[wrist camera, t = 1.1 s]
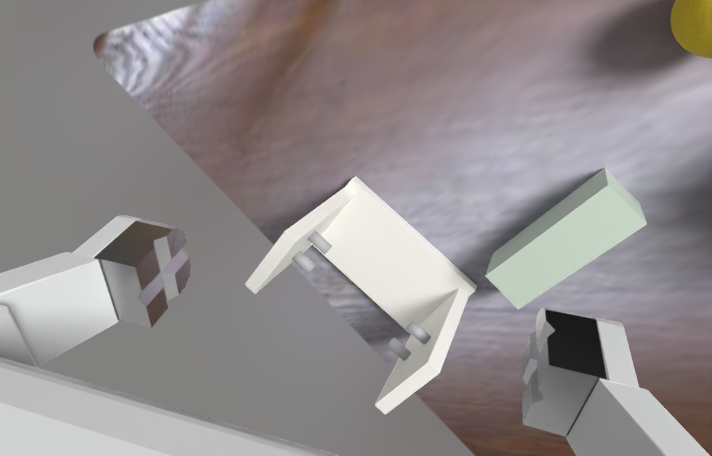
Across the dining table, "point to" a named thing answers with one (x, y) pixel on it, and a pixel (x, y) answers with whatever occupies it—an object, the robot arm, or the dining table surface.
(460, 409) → the dining table surface
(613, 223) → the shelf board
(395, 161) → the dining table surface
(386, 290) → the shelf unit
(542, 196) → the dining table surface
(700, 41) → the lemon
